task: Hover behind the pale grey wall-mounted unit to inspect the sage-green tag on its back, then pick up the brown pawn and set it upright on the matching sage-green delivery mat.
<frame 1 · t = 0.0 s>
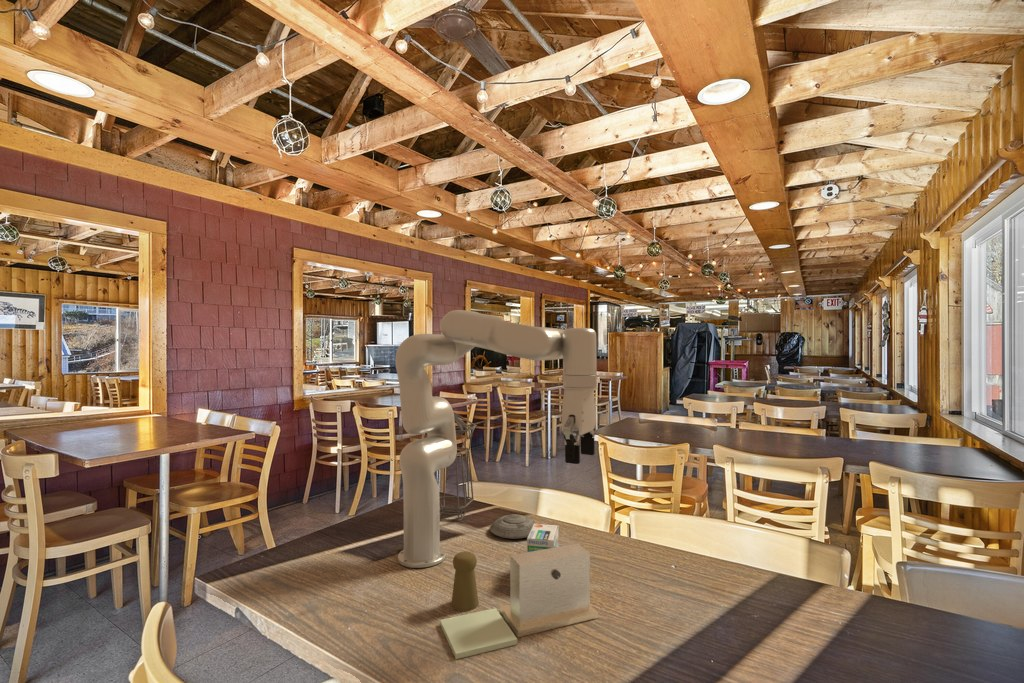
hand: (580, 458, 112), 31 cm above the table, tool pointing down, fingers open, 9 cm apart
delivery mat: (477, 634, 97), on the table
brown pawn: (465, 604, 109), on the table
light bulb box: (543, 575, 123), on the table
mounted unit: (548, 614, 104), on the table
flying saucer: (514, 533, 151), on the table
geometric lantern: (451, 515, 166), on the table
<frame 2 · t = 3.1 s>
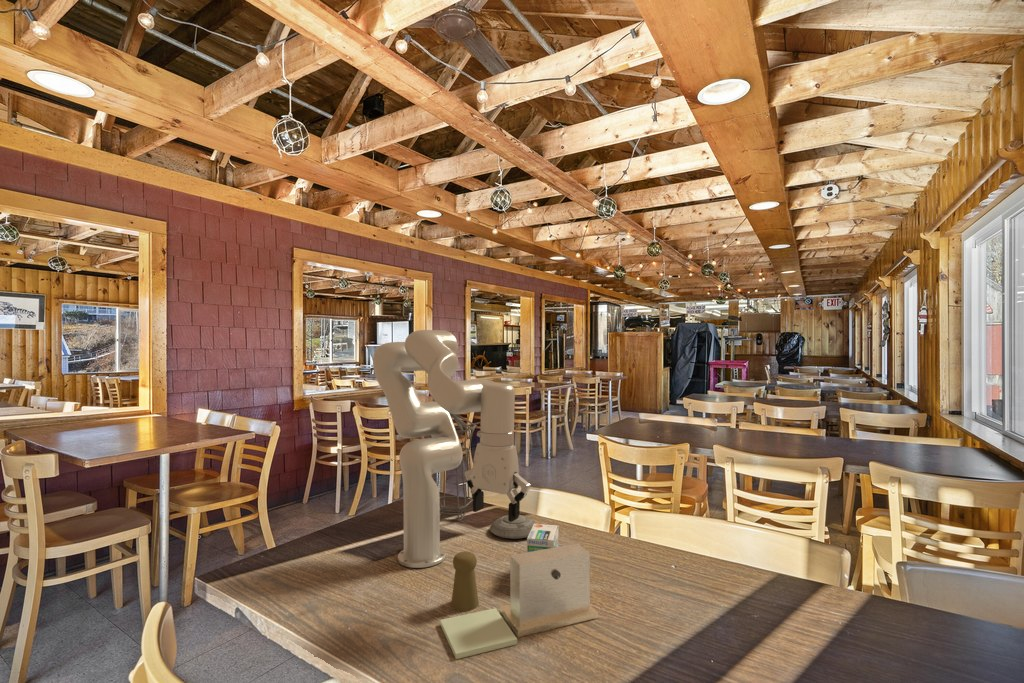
hand: (495, 514, 111), 19 cm above the table, tool pointing down, fingers open, 9 cm apart
nothing on the table moved.
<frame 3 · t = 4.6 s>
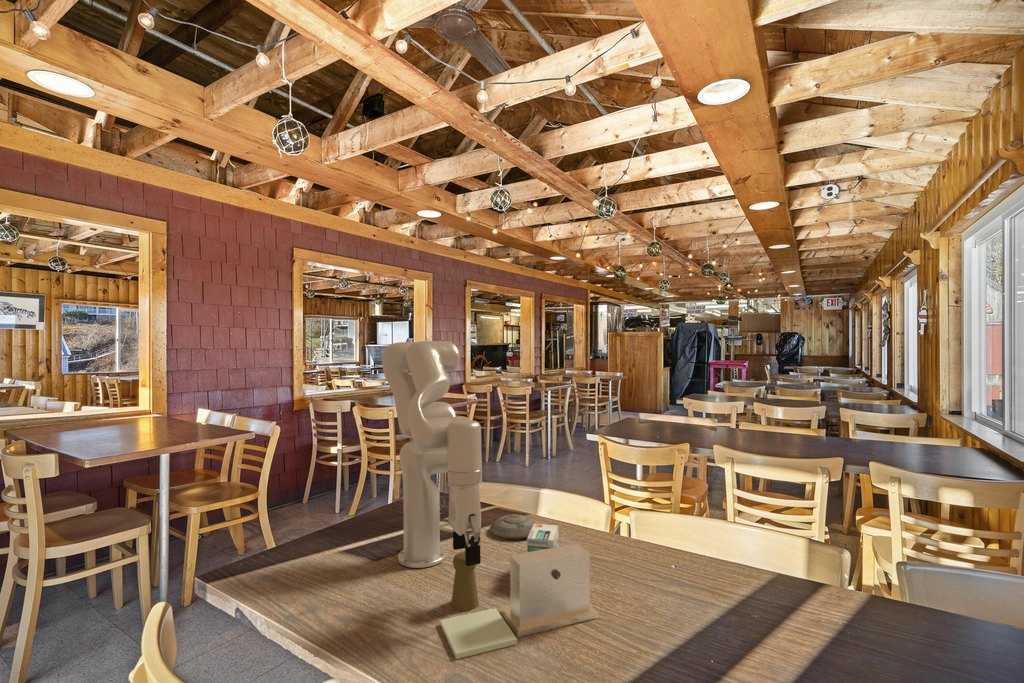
hand: (466, 556, 108), 11 cm above the table, tool pointing down, fingers open, 9 cm apart
nothing on the table moved.
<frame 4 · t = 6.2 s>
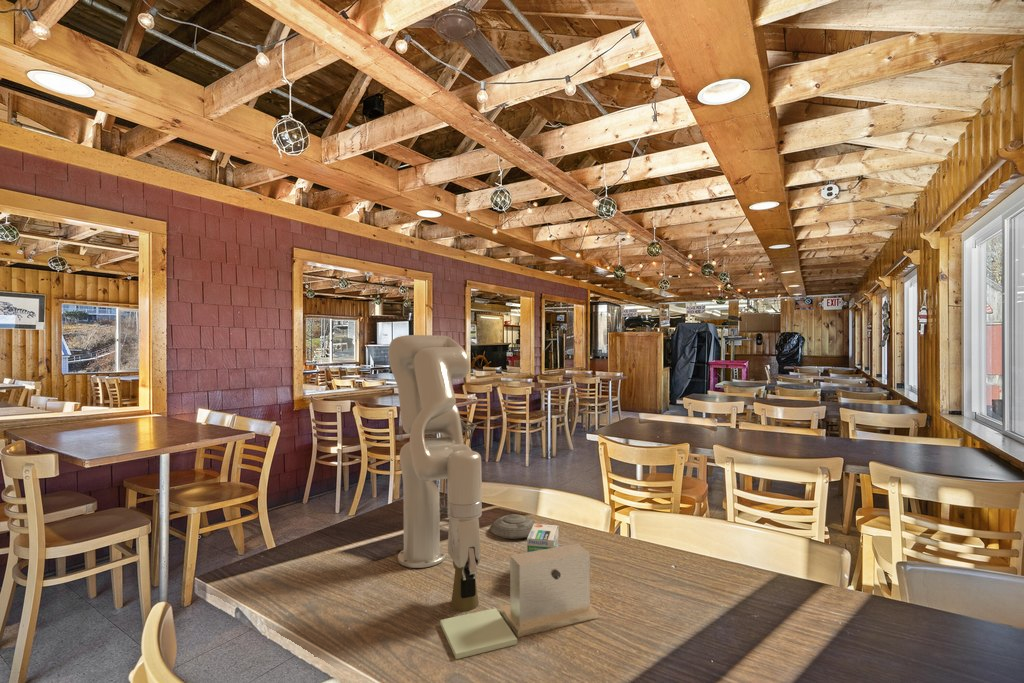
hand: (465, 591, 109), 3 cm above the table, tool pointing down, fingers closed on brown pawn, 3 cm apart
brown pawn: (464, 604, 109), on the table, touching gripper
everything else where it was.
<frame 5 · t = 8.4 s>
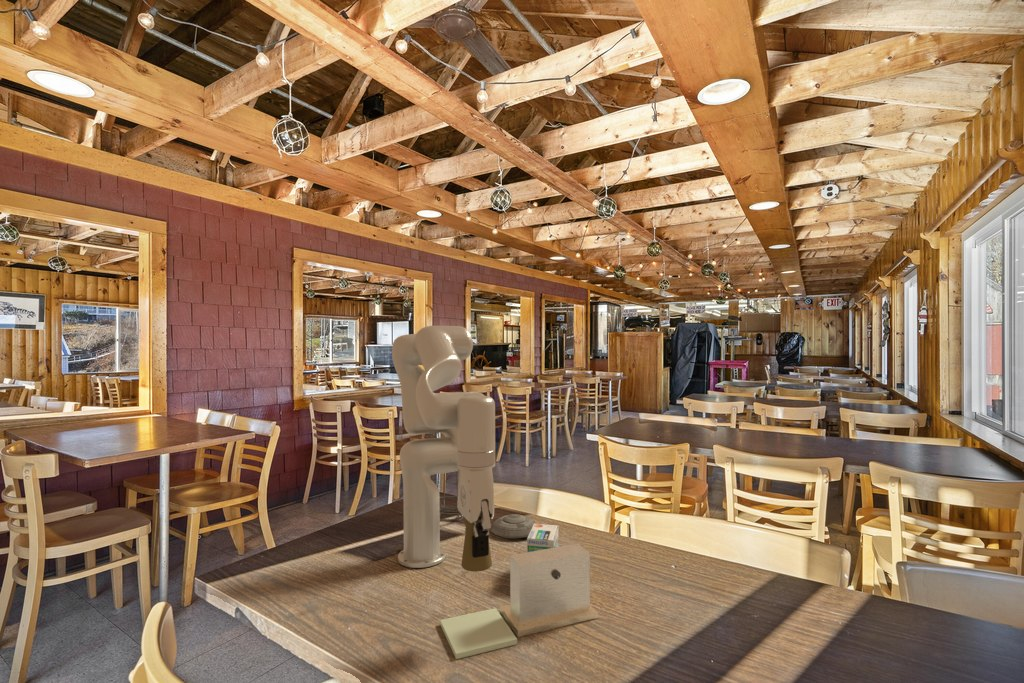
hand: (476, 550, 98), 16 cm above the table, tool pointing down, fingers closed on brown pawn, 3 cm apart
brown pawn: (476, 565, 98), point 13 cm above the table, touching gripper
everything else where it was.
when the fingers open (5 cm above the table, at t = 10.9 s): brown pawn stays where it is, resting on delivery mat.
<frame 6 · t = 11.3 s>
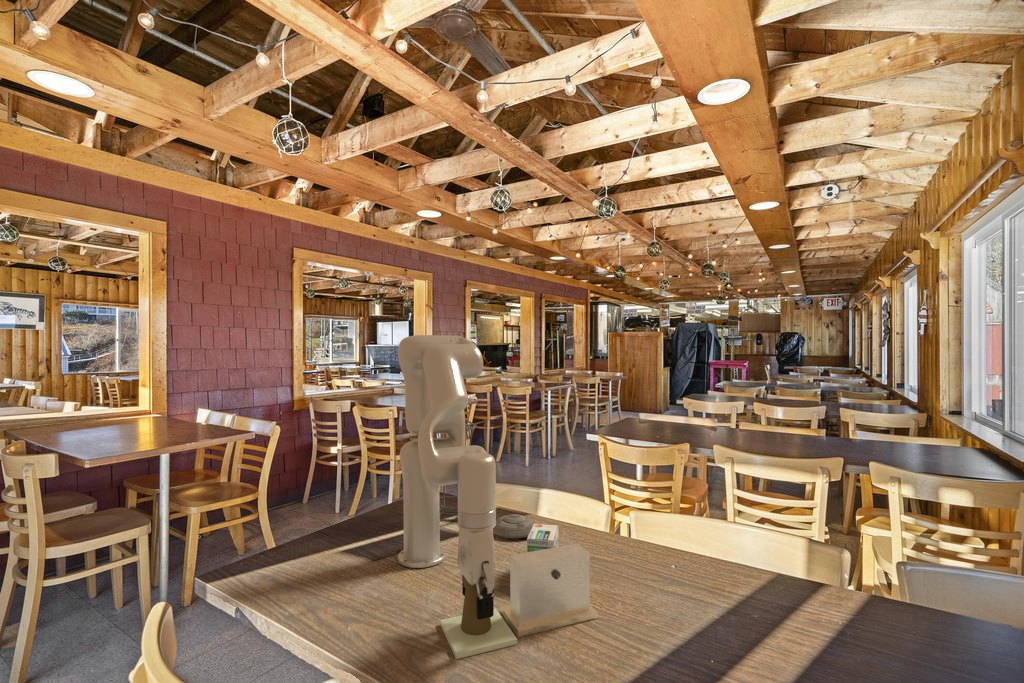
hand: (477, 605, 97), 6 cm above the table, tool pointing down, fingers open, 9 cm apart
brown pawn: (476, 627, 98), point 1 cm above the table, touching delivery mat
everything else where it was.
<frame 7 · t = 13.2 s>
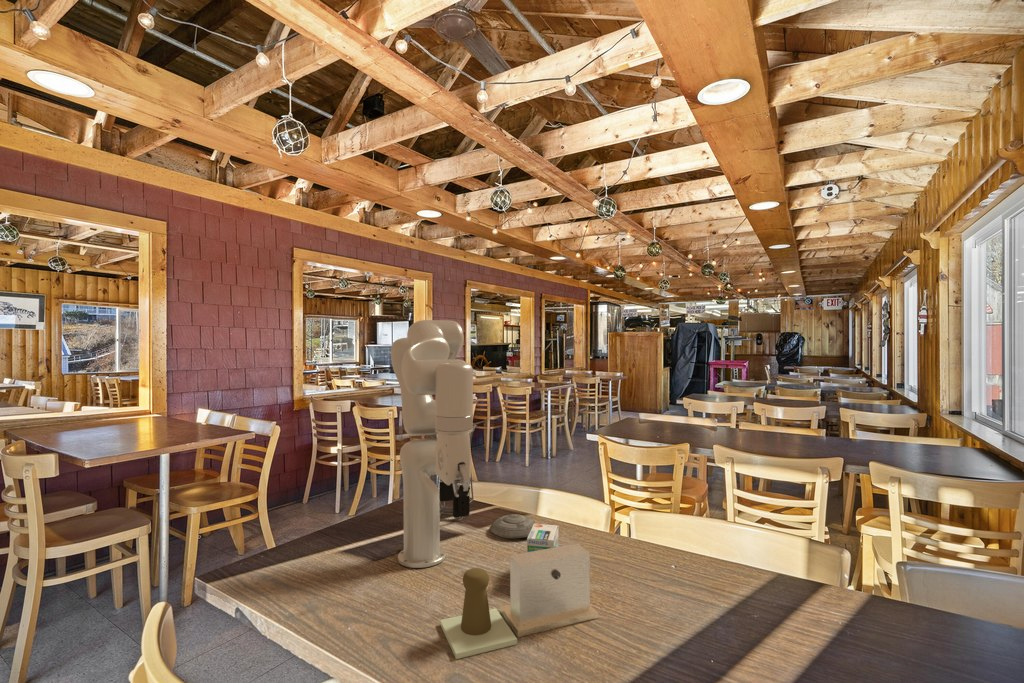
hand: (453, 508, 100), 24 cm above the table, tool pointing down, fingers open, 9 cm apart
nothing on the table moved.
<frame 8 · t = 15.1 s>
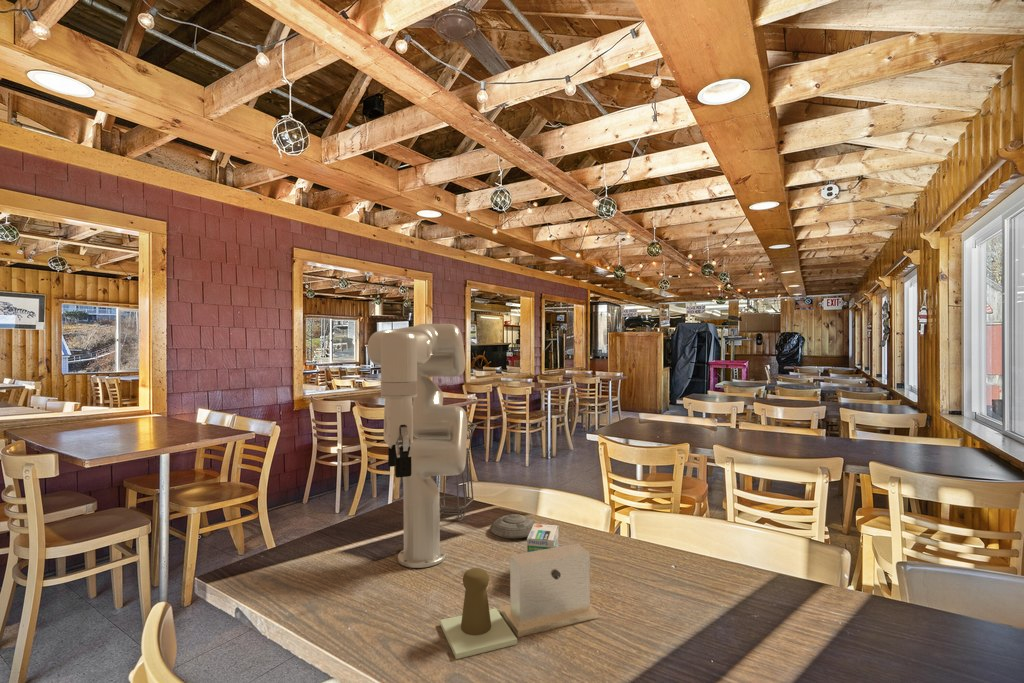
hand: (399, 471, 105), 30 cm above the table, tool pointing down, fingers open, 9 cm apart
nothing on the table moved.
at the end: brown pawn inside the target area on the delivery mat (0.9 cm from its centre), point 0.8 cm above the delivery mat's base; brown pawn tilted 0°; the gripper is holding nothing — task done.
